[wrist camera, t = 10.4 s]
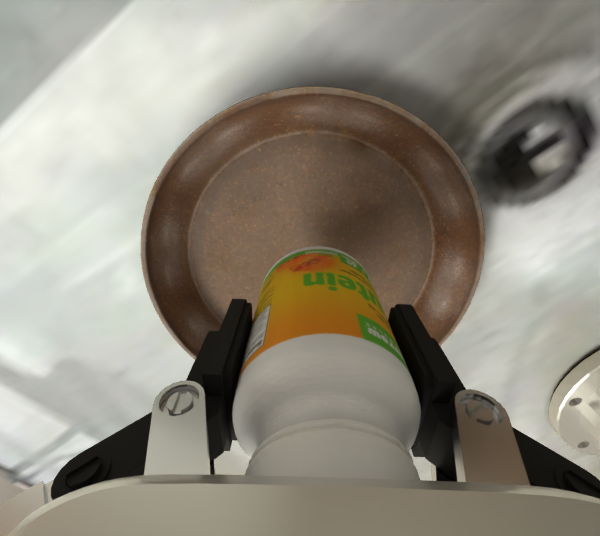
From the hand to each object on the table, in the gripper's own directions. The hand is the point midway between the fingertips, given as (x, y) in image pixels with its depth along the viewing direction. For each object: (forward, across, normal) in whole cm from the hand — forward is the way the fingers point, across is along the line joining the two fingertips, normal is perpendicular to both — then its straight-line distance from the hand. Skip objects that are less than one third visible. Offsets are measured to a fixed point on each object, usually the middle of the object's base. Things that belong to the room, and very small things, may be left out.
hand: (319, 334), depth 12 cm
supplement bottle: (+3, 0, 0) cm, 3 cm away
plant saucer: (+7, 0, 0) cm, 7 cm away
